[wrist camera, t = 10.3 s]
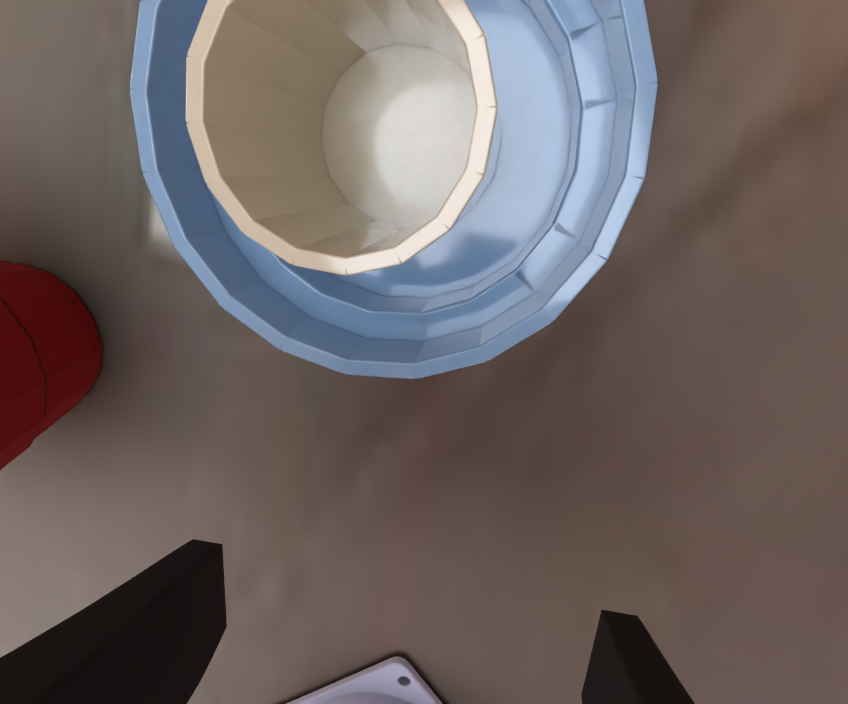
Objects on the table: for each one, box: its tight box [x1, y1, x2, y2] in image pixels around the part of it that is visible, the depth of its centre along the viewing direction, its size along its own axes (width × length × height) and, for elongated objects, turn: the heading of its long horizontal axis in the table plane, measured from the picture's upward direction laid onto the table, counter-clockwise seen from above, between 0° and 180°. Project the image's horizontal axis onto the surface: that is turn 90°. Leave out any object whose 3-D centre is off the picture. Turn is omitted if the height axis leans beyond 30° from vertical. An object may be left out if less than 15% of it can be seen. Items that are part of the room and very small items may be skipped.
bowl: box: [130, 0, 658, 379], centre depth 14 cm, size 12×12×4 cm
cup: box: [186, 0, 502, 276], centre depth 12 cm, size 6×6×7 cm
